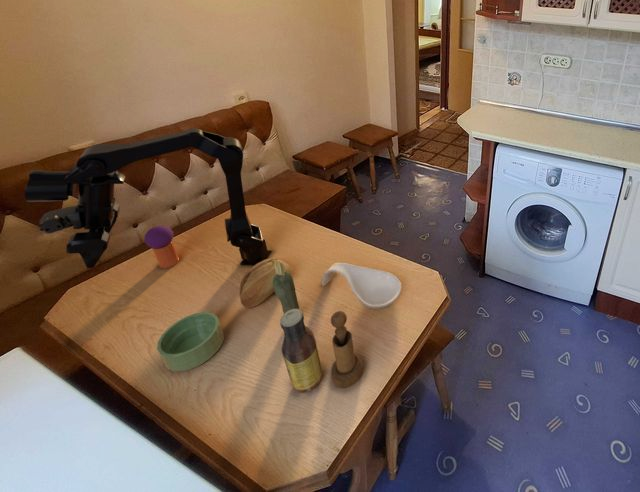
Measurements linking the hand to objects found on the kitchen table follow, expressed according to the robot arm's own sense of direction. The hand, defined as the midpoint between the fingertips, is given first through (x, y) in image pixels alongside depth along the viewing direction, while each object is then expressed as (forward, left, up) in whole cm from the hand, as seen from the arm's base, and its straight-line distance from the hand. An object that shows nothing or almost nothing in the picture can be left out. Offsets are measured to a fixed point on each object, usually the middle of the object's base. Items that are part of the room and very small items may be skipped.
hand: (94, 256), depth 87 cm
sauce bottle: (-58, +17, -16) cm, 62 cm away
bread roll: (-36, -7, -16) cm, 40 cm away
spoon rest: (-62, -7, -16) cm, 65 cm away
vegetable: (-48, +3, -16) cm, 51 cm away
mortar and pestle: (-66, +15, -16) cm, 69 cm away
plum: (-1, -16, -7) cm, 17 cm away
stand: (-1, -16, -16) cm, 23 cm away
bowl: (-29, +11, -16) cm, 35 cm away
